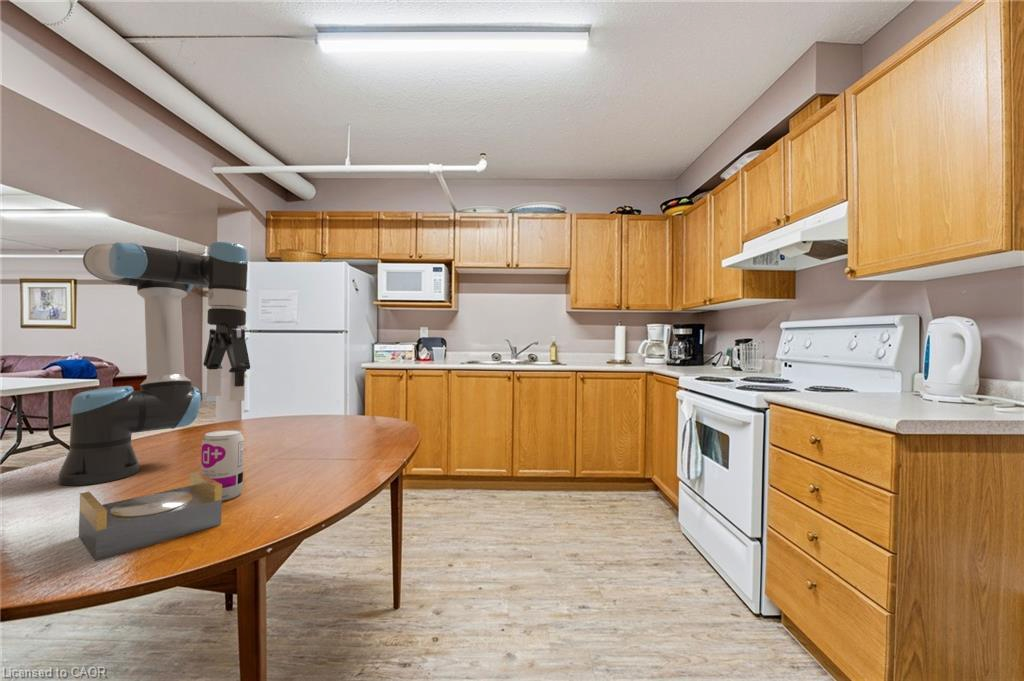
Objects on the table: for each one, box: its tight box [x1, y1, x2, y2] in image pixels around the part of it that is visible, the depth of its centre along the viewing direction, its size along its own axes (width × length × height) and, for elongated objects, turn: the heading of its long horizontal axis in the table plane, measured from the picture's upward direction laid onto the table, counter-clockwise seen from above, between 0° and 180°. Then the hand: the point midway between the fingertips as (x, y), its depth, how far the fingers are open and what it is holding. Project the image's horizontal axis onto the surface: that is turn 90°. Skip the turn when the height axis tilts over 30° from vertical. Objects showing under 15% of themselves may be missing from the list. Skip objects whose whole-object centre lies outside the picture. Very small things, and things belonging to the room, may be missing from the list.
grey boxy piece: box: [78, 470, 223, 562], centre depth 80 cm, size 14×18×8 cm
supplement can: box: [200, 429, 245, 502], centre depth 98 cm, size 8×8×15 cm
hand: (224, 398), depth 98 cm, fingers open, 13 cm apart
